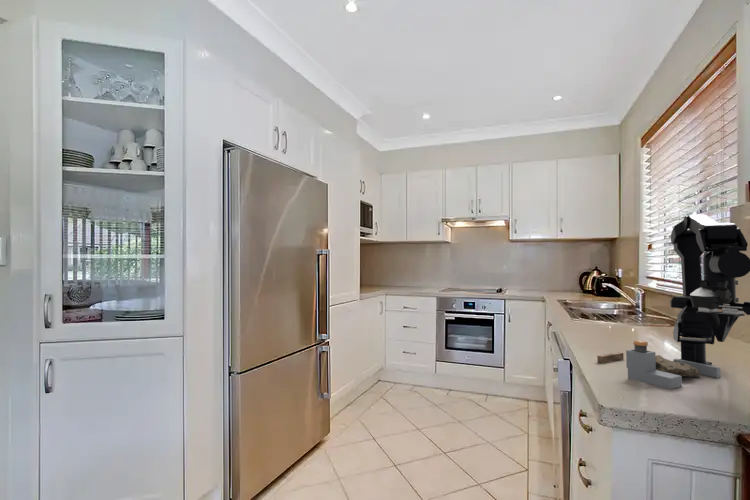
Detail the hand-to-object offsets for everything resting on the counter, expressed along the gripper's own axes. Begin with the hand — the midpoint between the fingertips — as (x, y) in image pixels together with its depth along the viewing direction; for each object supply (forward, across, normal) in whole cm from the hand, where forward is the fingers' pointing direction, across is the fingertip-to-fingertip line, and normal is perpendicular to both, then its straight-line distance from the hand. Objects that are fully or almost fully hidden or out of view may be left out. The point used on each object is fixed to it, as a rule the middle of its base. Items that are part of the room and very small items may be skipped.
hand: (720, 341), depth 94 cm
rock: (+11, -11, 0) cm, 16 cm away
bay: (+11, -10, -2) cm, 14 cm away
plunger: (+7, -12, -10) cm, 18 cm away
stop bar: (+11, -27, 0) cm, 29 cm away
